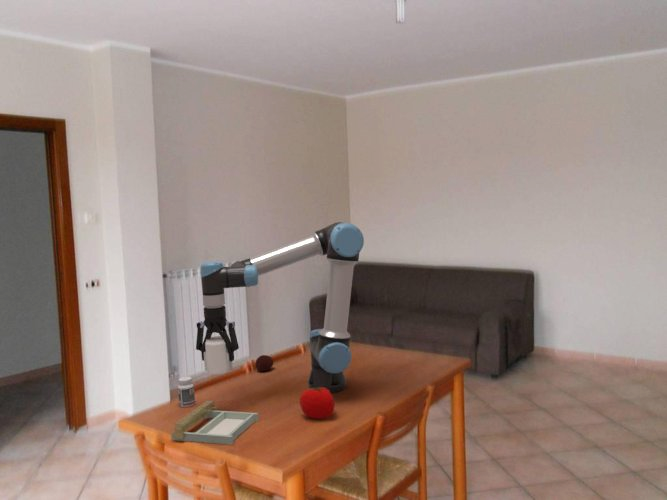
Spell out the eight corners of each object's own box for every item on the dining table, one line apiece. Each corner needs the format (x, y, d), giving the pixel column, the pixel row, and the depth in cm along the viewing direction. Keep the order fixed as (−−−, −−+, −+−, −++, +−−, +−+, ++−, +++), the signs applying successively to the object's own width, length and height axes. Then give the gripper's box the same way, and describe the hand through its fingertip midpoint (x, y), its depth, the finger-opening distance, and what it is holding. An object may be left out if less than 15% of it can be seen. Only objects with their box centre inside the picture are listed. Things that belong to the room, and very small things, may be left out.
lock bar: (217, 412, 203) (216, 400, 203) (183, 438, 182) (182, 425, 181) (207, 411, 204) (206, 399, 204) (171, 437, 183) (170, 424, 182)
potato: (277, 368, 258) (276, 353, 257) (265, 374, 251) (264, 358, 250) (264, 367, 262) (263, 351, 261) (252, 372, 254) (251, 356, 254)
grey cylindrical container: (208, 369, 210) (206, 336, 209) (231, 367, 211) (229, 335, 210) (205, 376, 202) (203, 342, 201) (229, 374, 203) (227, 340, 202)
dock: (258, 420, 198) (258, 413, 197) (232, 444, 178) (231, 436, 178) (202, 416, 204) (202, 409, 203) (171, 440, 184) (170, 432, 184)
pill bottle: (198, 402, 218) (196, 376, 217) (189, 408, 213) (187, 381, 212) (184, 401, 220) (182, 375, 219) (176, 406, 215) (174, 380, 214)
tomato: (325, 425, 191) (323, 394, 190) (293, 418, 198) (292, 389, 197) (343, 413, 200) (341, 384, 199) (312, 408, 207) (310, 379, 206)
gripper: (246, 304, 205) (250, 367, 207) (192, 304, 211) (197, 365, 213) (237, 308, 198) (241, 373, 200) (182, 308, 204) (186, 372, 206)
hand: (218, 369), depth 207 cm, fingers closed on grey cylindrical container, 8 cm apart
